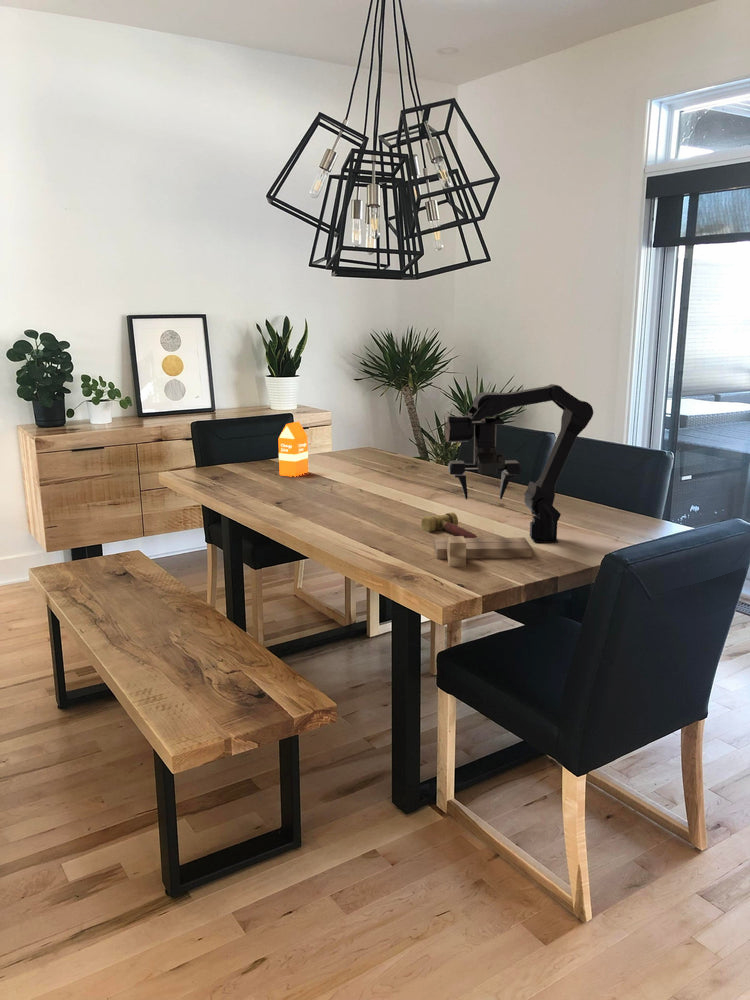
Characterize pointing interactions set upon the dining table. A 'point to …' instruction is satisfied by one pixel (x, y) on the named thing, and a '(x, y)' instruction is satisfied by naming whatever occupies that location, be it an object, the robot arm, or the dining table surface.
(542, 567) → the dining table surface
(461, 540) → the block
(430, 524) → the gavel
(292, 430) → the orange juice
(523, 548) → the plank
